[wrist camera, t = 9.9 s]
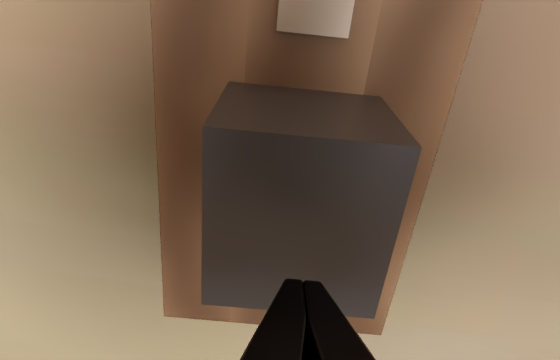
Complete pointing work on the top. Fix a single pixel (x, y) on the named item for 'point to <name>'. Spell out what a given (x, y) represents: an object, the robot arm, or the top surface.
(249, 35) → the socket box
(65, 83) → the top surface
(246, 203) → the dark grey block
